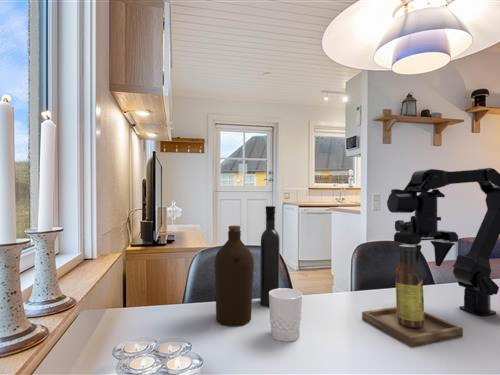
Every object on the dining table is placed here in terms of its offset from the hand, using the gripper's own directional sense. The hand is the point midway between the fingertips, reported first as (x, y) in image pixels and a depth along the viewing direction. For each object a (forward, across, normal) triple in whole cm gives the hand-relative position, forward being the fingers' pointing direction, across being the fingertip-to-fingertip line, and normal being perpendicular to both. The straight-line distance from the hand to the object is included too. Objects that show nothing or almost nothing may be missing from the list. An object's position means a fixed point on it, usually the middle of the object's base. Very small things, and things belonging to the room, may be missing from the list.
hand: (426, 267), depth 87 cm
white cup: (+13, +45, 0) cm, 47 cm away
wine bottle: (+13, +40, -21) cm, 47 cm away
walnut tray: (+13, +13, +6) cm, 19 cm away
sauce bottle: (+12, +13, +6) cm, 19 cm away
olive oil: (+13, +54, -13) cm, 57 cm away
